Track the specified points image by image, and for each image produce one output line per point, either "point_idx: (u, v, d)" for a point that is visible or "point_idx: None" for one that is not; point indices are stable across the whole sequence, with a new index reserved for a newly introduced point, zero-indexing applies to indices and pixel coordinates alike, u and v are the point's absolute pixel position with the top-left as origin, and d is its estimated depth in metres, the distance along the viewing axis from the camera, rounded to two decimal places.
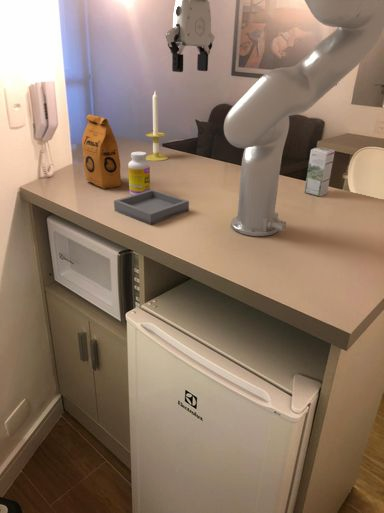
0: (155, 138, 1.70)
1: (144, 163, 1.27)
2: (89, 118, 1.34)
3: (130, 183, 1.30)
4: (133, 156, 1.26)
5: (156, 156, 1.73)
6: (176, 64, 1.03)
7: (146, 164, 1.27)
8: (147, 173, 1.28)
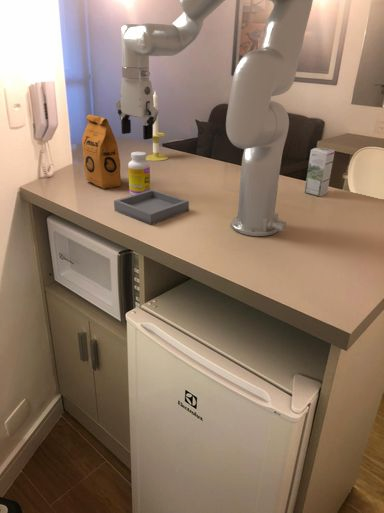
0: (155, 138, 1.70)
1: (144, 163, 1.27)
2: (89, 118, 1.34)
3: (130, 183, 1.30)
4: (133, 156, 1.26)
5: (156, 156, 1.73)
6: (151, 133, 1.21)
7: (146, 164, 1.27)
8: (147, 173, 1.28)
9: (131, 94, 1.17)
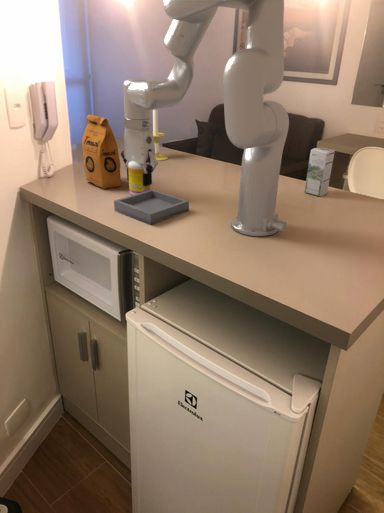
0: (155, 138, 1.70)
1: None
2: (89, 118, 1.34)
3: (130, 183, 1.30)
4: (133, 156, 1.26)
5: (156, 156, 1.73)
6: (150, 180, 1.28)
7: None
8: None
9: (133, 143, 1.24)
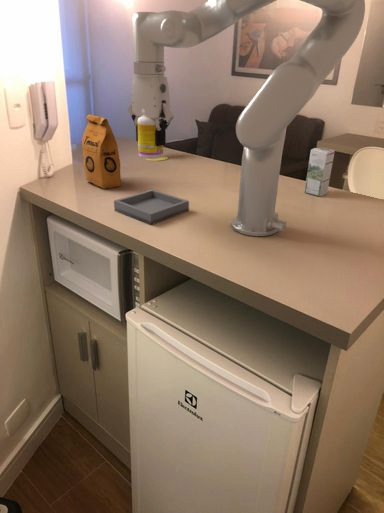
0: None
1: None
2: (89, 118, 1.34)
3: (140, 143, 1.09)
4: (143, 109, 1.05)
5: None
6: (164, 139, 1.08)
7: None
8: None
9: (144, 92, 1.03)
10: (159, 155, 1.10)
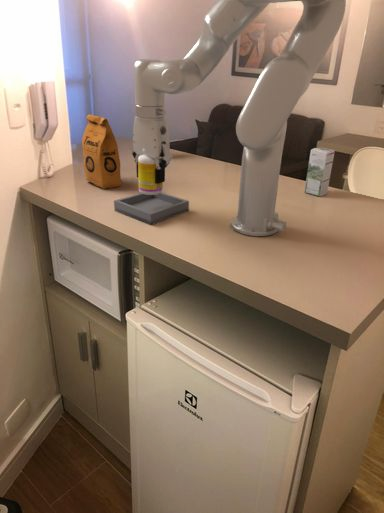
0: None
1: None
2: (89, 118, 1.34)
3: (140, 180, 1.13)
4: (144, 149, 1.10)
5: None
6: (163, 176, 1.12)
7: None
8: None
9: (145, 134, 1.07)
10: (158, 191, 1.15)
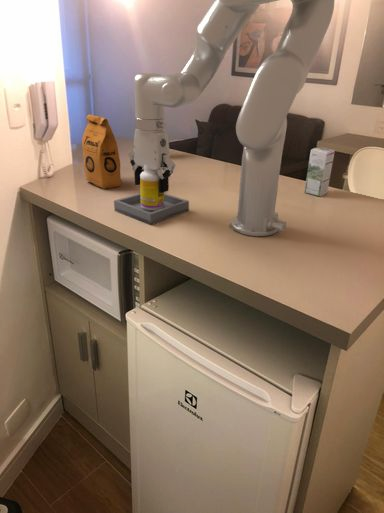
0: None
1: (158, 174, 1.13)
2: (89, 118, 1.34)
3: (142, 196, 1.15)
4: (146, 166, 1.12)
5: None
6: (167, 186, 1.13)
7: None
8: None
9: (145, 146, 1.09)
10: (160, 207, 1.17)
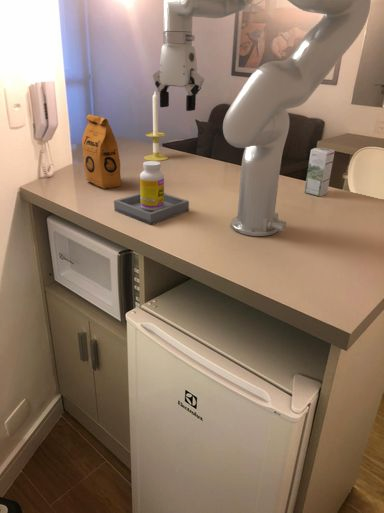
0: (155, 138, 1.70)
1: (158, 174, 1.13)
2: (89, 118, 1.34)
3: (142, 196, 1.15)
4: (146, 166, 1.12)
5: (156, 156, 1.73)
6: (194, 104, 1.13)
7: (160, 175, 1.13)
8: (161, 185, 1.14)
9: (173, 61, 1.09)
10: (160, 207, 1.17)
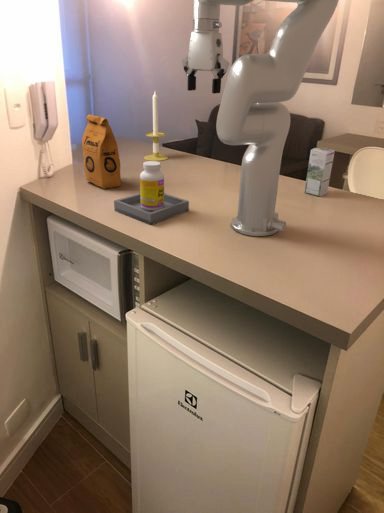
0: (155, 138, 1.70)
1: (158, 174, 1.13)
2: (89, 118, 1.34)
3: (142, 196, 1.15)
4: (146, 166, 1.12)
5: (156, 156, 1.73)
6: (219, 87, 1.22)
7: (160, 175, 1.13)
8: (161, 185, 1.14)
9: (201, 47, 1.18)
10: (160, 207, 1.17)
